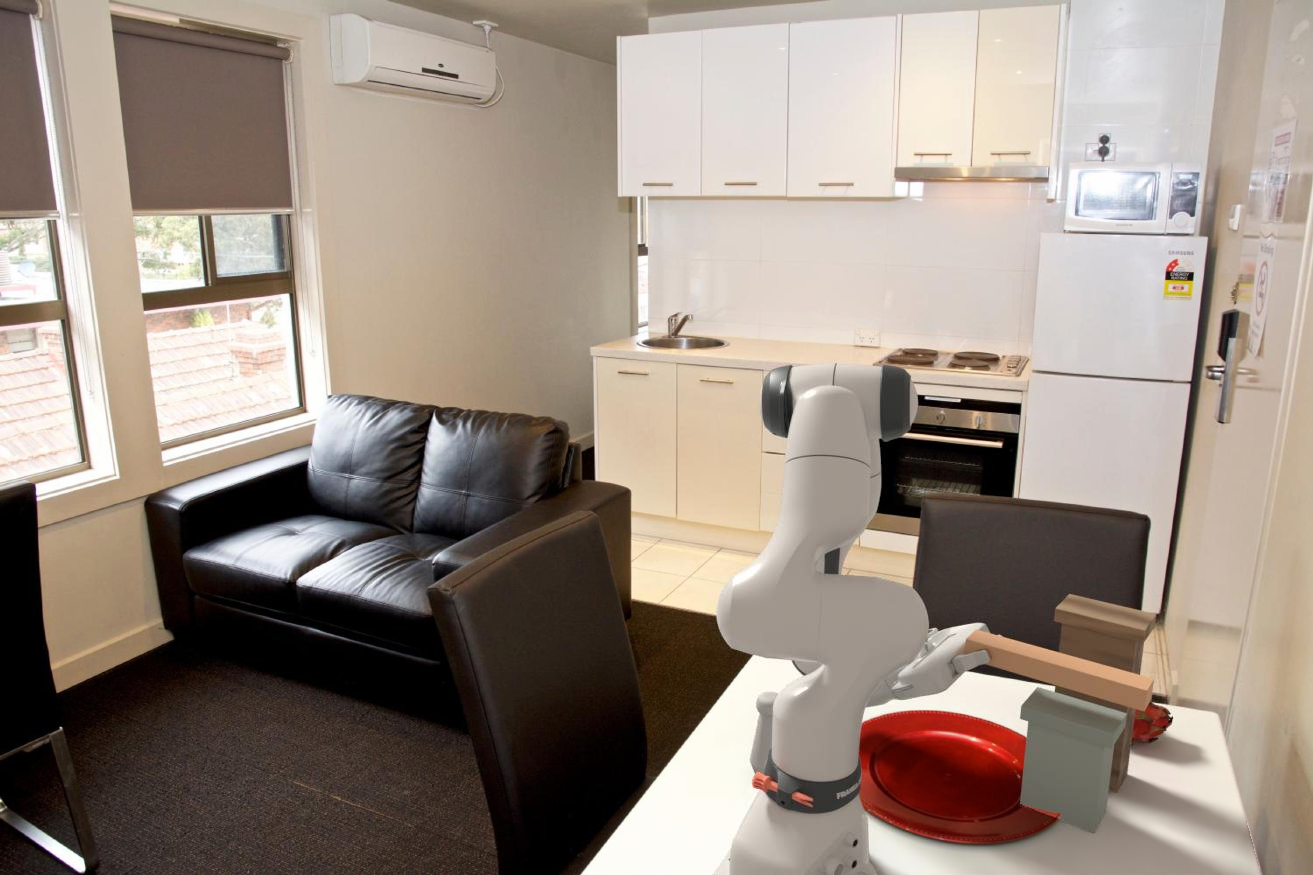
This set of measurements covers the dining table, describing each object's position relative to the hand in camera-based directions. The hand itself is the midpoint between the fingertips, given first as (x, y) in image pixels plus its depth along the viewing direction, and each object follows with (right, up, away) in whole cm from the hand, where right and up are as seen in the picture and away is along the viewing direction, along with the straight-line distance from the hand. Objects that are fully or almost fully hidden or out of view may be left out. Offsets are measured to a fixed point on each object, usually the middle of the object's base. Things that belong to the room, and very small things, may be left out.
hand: (996, 647), depth 137 cm
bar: (+6, -3, -5) cm, 8 cm away
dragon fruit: (+28, -18, +17) cm, 37 cm away
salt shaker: (-32, -21, +6) cm, 39 cm away
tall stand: (+16, -20, +7) cm, 27 cm away
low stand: (+9, -22, -2) cm, 24 cm away
